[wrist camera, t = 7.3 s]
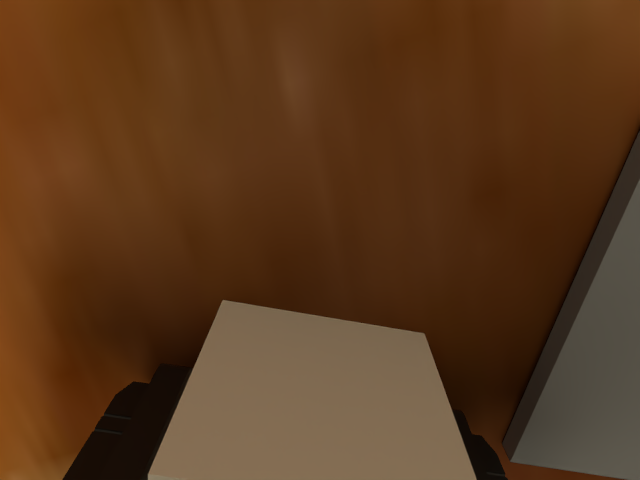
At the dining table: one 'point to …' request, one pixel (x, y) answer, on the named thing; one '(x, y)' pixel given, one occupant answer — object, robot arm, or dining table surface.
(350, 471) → the letter cube
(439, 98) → the dining table surface
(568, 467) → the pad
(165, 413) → the robot arm
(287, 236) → the dining table surface
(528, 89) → the dining table surface
